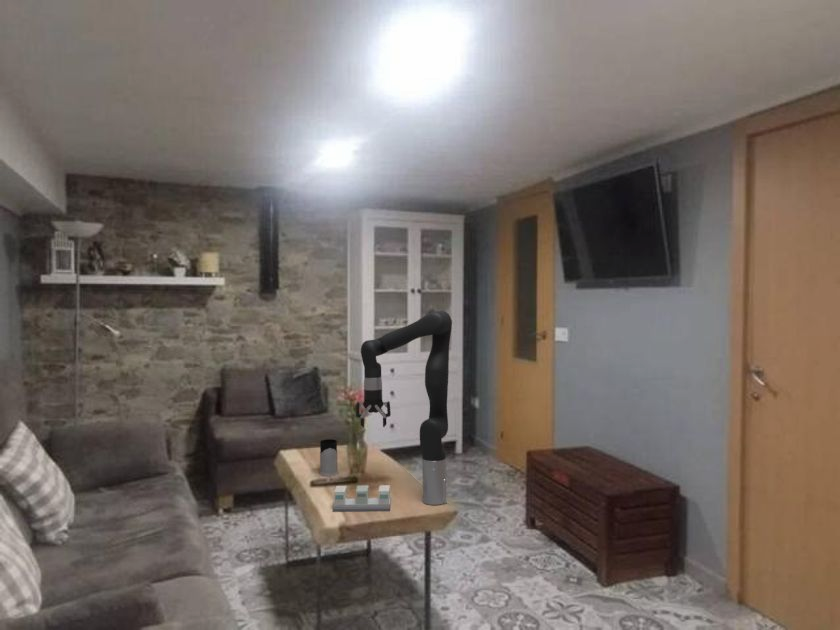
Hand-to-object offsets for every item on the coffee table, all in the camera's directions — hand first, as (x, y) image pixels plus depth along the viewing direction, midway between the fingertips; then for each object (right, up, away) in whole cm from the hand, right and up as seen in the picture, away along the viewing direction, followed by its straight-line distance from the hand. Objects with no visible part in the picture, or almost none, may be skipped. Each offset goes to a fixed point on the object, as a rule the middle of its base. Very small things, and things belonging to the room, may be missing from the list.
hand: (373, 426), depth 247 cm
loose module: (-3, -26, -16) cm, 30 cm away
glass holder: (-23, -27, +30) cm, 47 cm away
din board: (-3, -28, -16) cm, 32 cm away
